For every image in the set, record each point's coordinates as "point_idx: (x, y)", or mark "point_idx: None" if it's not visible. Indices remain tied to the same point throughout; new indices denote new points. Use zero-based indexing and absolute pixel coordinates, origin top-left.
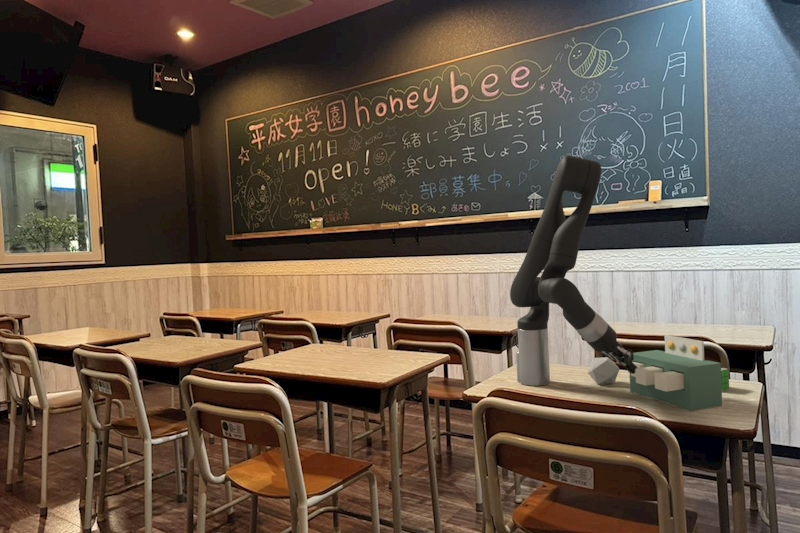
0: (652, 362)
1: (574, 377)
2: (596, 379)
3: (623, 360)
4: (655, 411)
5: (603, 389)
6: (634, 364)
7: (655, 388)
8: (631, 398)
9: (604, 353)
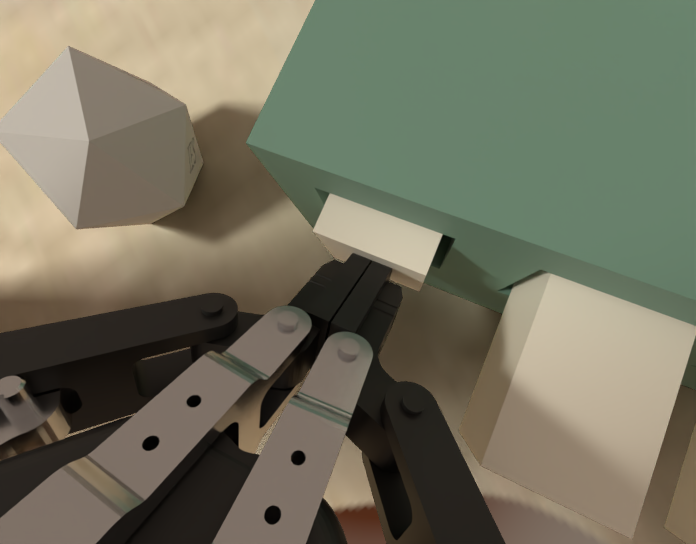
0: (576, 274)
1: (16, 171)
2: (130, 224)
3: (302, 366)
4: (622, 539)
5: (208, 285)
6: (360, 252)
7: (669, 529)
8: (391, 361)
9: (78, 426)
